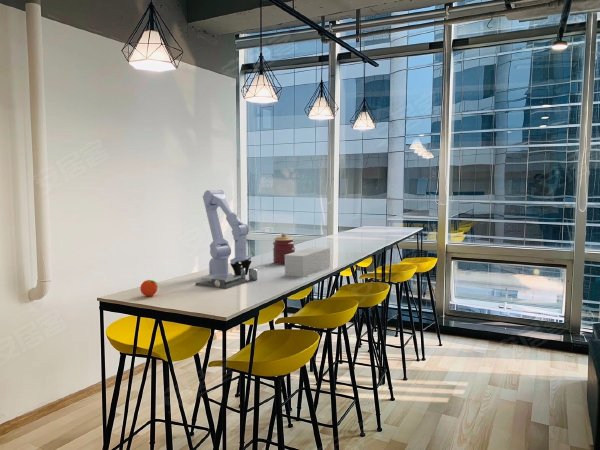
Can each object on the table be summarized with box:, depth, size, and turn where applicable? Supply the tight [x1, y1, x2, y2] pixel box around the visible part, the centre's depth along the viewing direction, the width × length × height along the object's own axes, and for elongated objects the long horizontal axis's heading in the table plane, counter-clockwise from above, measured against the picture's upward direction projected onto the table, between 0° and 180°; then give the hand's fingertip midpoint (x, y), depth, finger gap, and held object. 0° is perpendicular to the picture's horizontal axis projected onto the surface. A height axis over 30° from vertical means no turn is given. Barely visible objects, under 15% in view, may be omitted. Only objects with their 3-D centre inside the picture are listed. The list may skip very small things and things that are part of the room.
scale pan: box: [201, 273, 241, 282], centre depth 225 cm, size 14×12×2 cm
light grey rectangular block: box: [284, 246, 331, 278], centre depth 254 cm, size 32×11×11 cm, turn 152°
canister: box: [272, 232, 296, 265], centre depth 280 cm, size 13×13×18 cm
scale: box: [195, 279, 248, 290], centre depth 225 cm, size 18×16×4 cm
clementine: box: [139, 279, 159, 297], centre depth 202 cm, size 8×7×7 cm
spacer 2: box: [248, 267, 258, 282], centre depth 232 cm, size 4×4×6 cm
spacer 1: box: [238, 266, 247, 280], centre depth 235 cm, size 4×4×6 cm
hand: (241, 276), depth 235 cm, fingers open, 6 cm apart
